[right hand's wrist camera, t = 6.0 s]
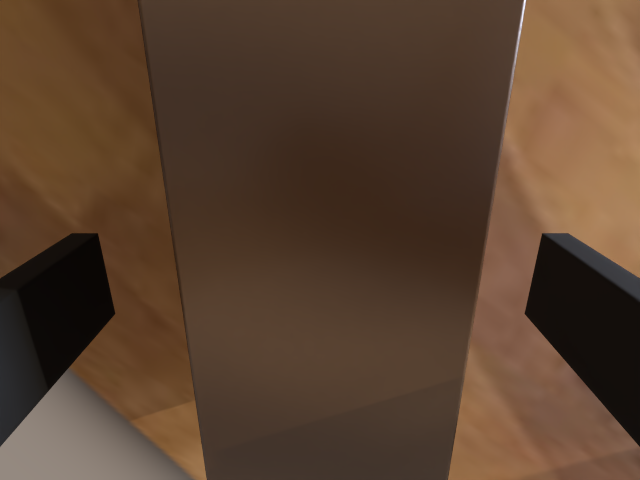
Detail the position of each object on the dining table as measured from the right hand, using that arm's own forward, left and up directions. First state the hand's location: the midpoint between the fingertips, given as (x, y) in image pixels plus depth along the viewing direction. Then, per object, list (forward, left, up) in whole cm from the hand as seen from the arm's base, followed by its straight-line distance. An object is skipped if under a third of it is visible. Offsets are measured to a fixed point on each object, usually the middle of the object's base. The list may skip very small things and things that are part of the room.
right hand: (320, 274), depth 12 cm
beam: (-8, -25, -4) cm, 27 cm away
